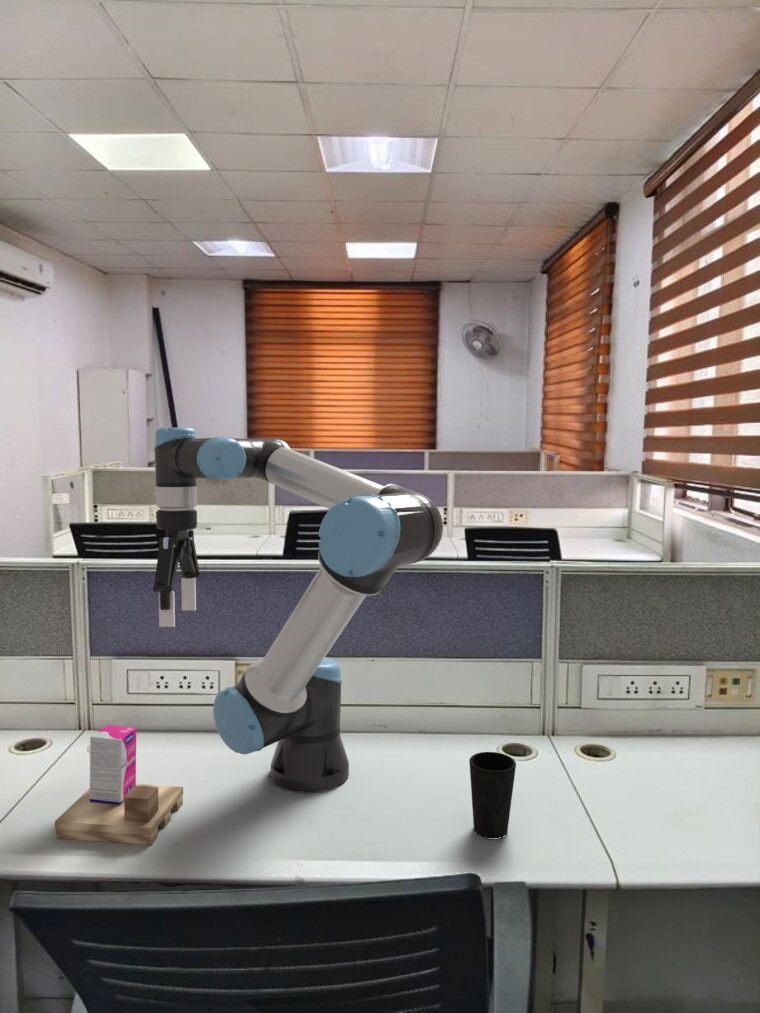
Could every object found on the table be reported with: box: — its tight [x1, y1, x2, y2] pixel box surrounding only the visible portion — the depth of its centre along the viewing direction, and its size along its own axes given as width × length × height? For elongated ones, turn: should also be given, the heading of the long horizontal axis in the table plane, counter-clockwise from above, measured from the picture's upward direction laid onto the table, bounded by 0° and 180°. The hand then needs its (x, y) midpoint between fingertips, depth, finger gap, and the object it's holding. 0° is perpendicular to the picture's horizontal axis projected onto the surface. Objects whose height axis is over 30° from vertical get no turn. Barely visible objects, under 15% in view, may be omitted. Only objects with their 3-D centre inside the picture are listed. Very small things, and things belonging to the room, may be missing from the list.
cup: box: [469, 751, 517, 839], centre depth 122 cm, size 8×8×12 cm
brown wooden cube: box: [124, 786, 158, 823], centre depth 120 cm, size 4×4×4 cm
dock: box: [54, 783, 184, 846], centre depth 124 cm, size 16×14×3 cm
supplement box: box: [89, 724, 137, 805], centre depth 126 cm, size 6×6×12 cm
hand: (178, 618), depth 142 cm, fingers open, 13 cm apart
